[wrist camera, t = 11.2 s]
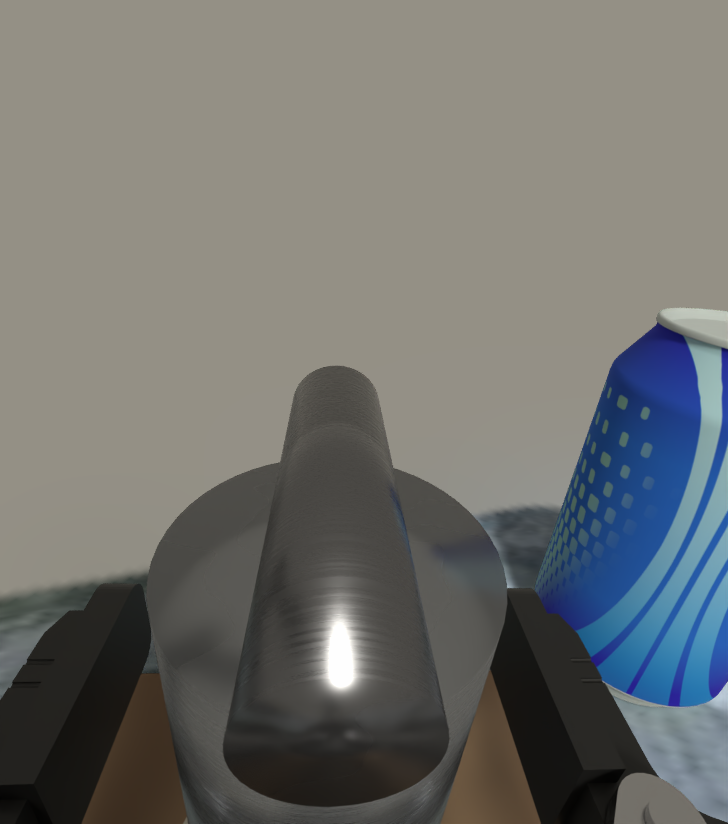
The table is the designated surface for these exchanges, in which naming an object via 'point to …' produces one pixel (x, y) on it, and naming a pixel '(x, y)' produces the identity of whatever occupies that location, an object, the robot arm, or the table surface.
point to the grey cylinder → (324, 628)
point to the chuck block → (163, 800)
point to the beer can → (652, 519)
